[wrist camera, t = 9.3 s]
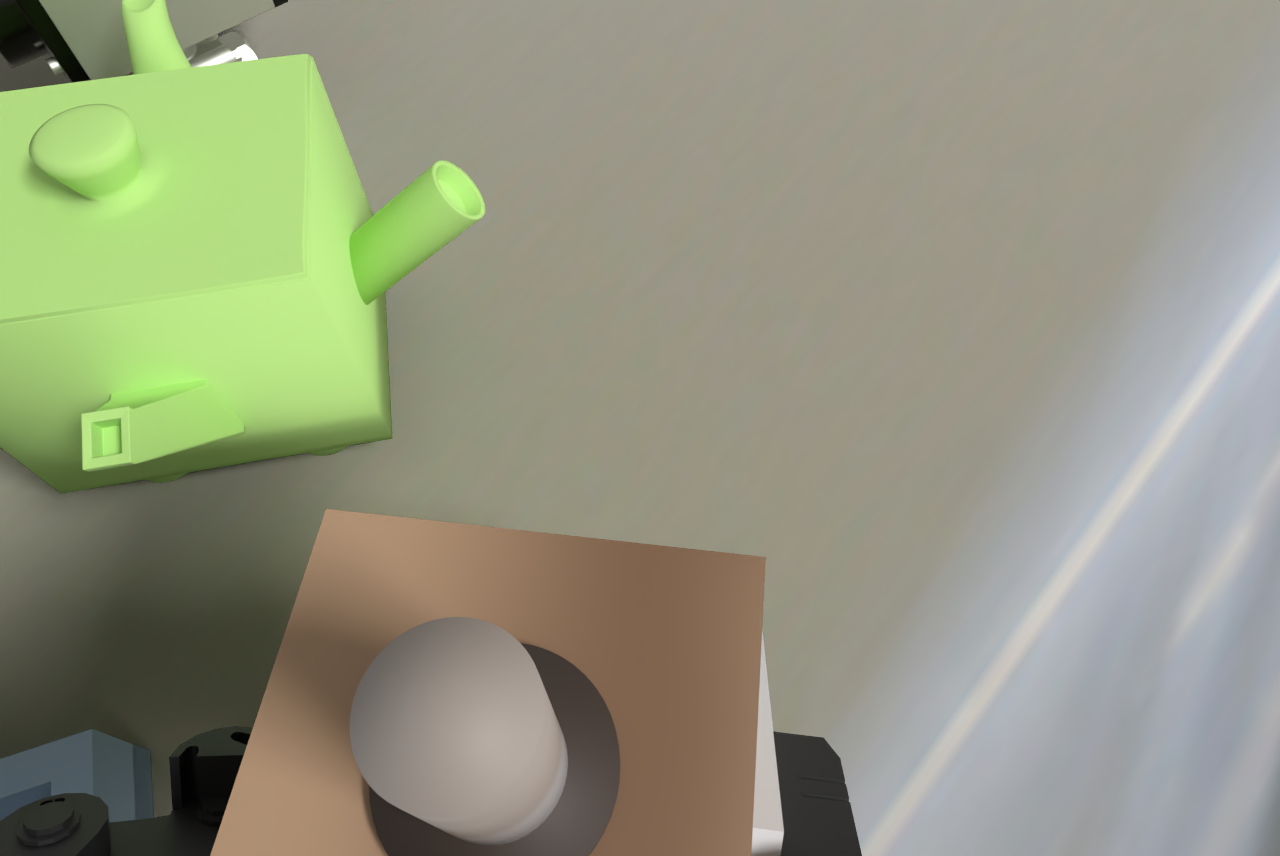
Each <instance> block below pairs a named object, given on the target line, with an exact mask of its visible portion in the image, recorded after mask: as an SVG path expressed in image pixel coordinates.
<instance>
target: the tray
mask: <svg viewBox="0 0 1280 856" xmlns="http://www.w3.org/2000/svg"><path fill="white" fill-rule="evenodd" d="M63 793H87V794H90V795H93V796H97V797H100V798H101V799H102V800H103V801H104V802H105V804H106V805H107V806H108V811H109V822H120V821H129V820H139V819H149V818H154V817H153V797H152V777H151V758H150V750H147V749H144V748H142V747H139V746H137V745H134V744H131V743H129V742H126V741H123V740H121V739H118V738H115V737H113V736H110V735H107V734H105V733H102V732H99V731H97V730H94V729H90V730H87V731H84V732H80V733H77V734H74V735H71V736H68V737H65V738H62V739H59V740H56V741H53V742H50V743H47V744H44V745H41V746H38V747H35V748H32V749H29V750H26V751H23V752H20V753H17V754H14V755H10V756H7V757H4V758H1V759H0V821H1V820H3V819H4V818H6V817H7V816H8V815H10V814H11V813H13V812H14V811H16V810H17V809H19V808H20V807H23V806H25V805H27V804H30V803H32V802H34V801H37V800H39V799H42V798H45V797H50V796H54V795H59V794H63Z"/></svg>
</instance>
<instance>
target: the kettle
mask: <svg viewBox="0 0 1280 856" xmlns="http://www.w3.org/2000/svg"><path fill="white" fill-rule="evenodd" d="M121 12H122V18H123V24H124V30H125V35H126V41H127V46H128V51H129V56H130V60H131V65H132V70H133V75H127V76H119V77H112V78H104V79H96V80H88V81H81V82H73V83H65V84H58V85H50V86H42V87H35V88H27V89H20V90H12V91H4V92H0V448H2V449H3V450H4V451H6V452H7V453H8V454H10V455H11V456H12V457H14V458H15V459H16V460H18V461H19V462H20V463H22V464H23V465H24V466H25V467H27V468H28V469H29V470H31V471H32V472H33V473H35V474H36V475H37V476H39V477H40V478H41V479H43V480H44V481H45V482H47V483H48V484H49V485H51V486H52V487H53V488H55V489H56V490H57V491H59V492H60V493H67V492H73V491H79V490H86V489H92V488H98V487H104V486H110V485H116V484H122V483H128V482H134V481H140V480H148V481H152V482H158V483H162V482H169V481H173V480H175V479H178V478H180V477H181V476H183V475H185V474H186V473H189V472H195V471H201V470H207V469H213V468H219V467H225V466H231V465H237V464H243V463H249V462H255V461H261V460H267V459H273V458H279V457H285V456H291V455H297V454H303V453H310V454H313V455H320V456H324V455H331V454H334V453H337V452H339V451H341V450H343V449H344V448H346V447H347V446H351V445H357V444H363V443H369V442H374V441H380V440H386V439H392V421H391V400H390V380H389V361H388V337H387V317H386V297H385V291H386V290H388V289H389V288H390V287H392V286H393V285H394V284H395V283H397V282H398V281H399V280H401V279H402V278H403V277H405V276H406V275H407V274H408V273H410V272H411V271H412V270H414V269H415V268H416V267H418V266H419V265H420V264H421V263H423V262H424V261H425V260H427V259H428V258H429V257H431V256H432V255H433V254H434V253H436V252H437V251H438V250H440V249H441V248H442V247H444V246H445V245H446V244H448V243H449V242H450V241H452V240H453V239H454V238H455V237H457V236H458V235H459V234H461V233H462V232H463V231H465V230H466V229H467V228H469V227H470V226H471V225H473V224H474V223H475V222H476V221H478V220H479V219H480V218H482V217H483V215H484V214H485V203H484V200H483V197H482V195H481V193H480V191H479V189H478V188H477V186H476V185H475V183H474V182H473V181H472V179H471V178H470V177H469V176H468V175H467V174H466V173H465V172H464V171H463V170H461V169H460V168H459V167H458V166H456V165H454V164H453V163H450V162H448V161H444V160H440V161H437V162H436V163H435V164H434V165H432V166H431V167H430V168H429V169H428V170H427V171H425V172H424V173H423V174H422V175H421V176H419V177H418V178H417V179H416V180H415V181H414V182H412V183H411V184H410V185H409V186H408V187H406V188H405V189H404V190H403V191H402V192H401V193H399V194H398V195H397V196H396V197H395V198H394V199H392V200H391V201H390V202H389V203H388V204H386V205H385V206H384V207H383V208H382V209H381V210H379V211H378V212H377V213H376V214H375V215H373V213H372V210H371V208H370V205H369V203H368V200H367V197H366V195H365V192H364V190H363V187H362V184H361V182H360V179H359V177H358V174H357V171H356V169H355V166H354V164H353V161H352V158H351V156H350V153H349V151H348V148H347V145H346V143H345V140H344V138H343V135H342V132H341V130H340V127H339V125H338V122H337V119H336V117H335V114H334V112H333V109H332V106H331V104H330V101H329V99H328V96H327V93H326V91H325V88H324V86H323V83H322V80H321V78H320V75H319V73H318V70H317V67H316V65H315V62H314V60H313V57H312V56H310V55H309V54H301V55H291V56H282V57H273V58H265V59H256V60H248V61H240V62H232V63H224V64H215V65H207V66H199V67H191V65H190V63H189V62H188V60H187V58H186V57H185V55H184V53H183V51H182V49H181V47H180V45H179V42H178V40H177V38H176V36H175V33H174V30H173V28H172V25H171V22H170V19H169V16H168V11H167V7H166V2H165V0H121Z"/></svg>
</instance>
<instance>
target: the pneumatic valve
mask: <svg viewBox="0 0 1280 856" xmlns="http://www.w3.org/2000/svg"><path fill="white" fill-rule="evenodd" d="M165 2H166V7H167V11H168V16H169V19H170V22H171V25H172V28H173V30H174V33H175V36H176V38H177V40H178V42H179V45H180V47H181V49H182V51H183V53H184V55H185V57H186V58H187V60H188V62H189V63H190V65H191V67H199V66H207V65H215V64H224V63H232V62H240V61H248V60H256V59H258V58H257V56H256V55H255V53H254V52H253V50H252V48H251V47H250V46H249V44H248V43H247V41H246V40H245V39H244V38H243V37H242V36H241V35H240V34H239V33H236V32H233V31H231V32H229V33H227V34H224V35H222V36H220V37H218V33H220V32H222V31H224V30H227V29H229V28H231V27H233V26H235V25H238V24H240V23H242V22H244V21H246V20H249V19H251V18H253V17H255V16H257V15H260V14H262V13H264V12H266V11H269V10H271V9H273V8H275V7H277V6H280V5H282V4H284V3H286V2H288V0H165ZM47 53H48V55H49V56H50V57H51V58H49V59H47V60H45V61H46V63H47V65H48V66H49V68H50V69H51V70H52V72H53V73H54V74H55V75H58V74H60V73H62V72H63V73H64V75H65V76H66V77H67V78H68V80H69V81H70V82H71V83H73V82H81V81H88V80H96V79H104V78H112V77H119V76H125V75H127V74H129V73H131V72H133V70H132V65H131V60H130V56H129V51H128V46H127V41H126V35H125V30H124V24H123V18H122V12H121V0H0V55H1V56H2V57H3V59H4V60H5V61H6V63H7V64H8V65H9V66H10V67H11V68H15V67H17V66H19V65H22V64H24V63H26V62H29V61H31V60H33V59H36V58H38V57H40V56H43V55H45V54H47Z"/></svg>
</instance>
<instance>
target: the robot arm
mask: <svg viewBox="0 0 1280 856" xmlns="http://www.w3.org/2000/svg"><path fill="white" fill-rule="evenodd" d="M252 729H253V728H247V727H228V728H220V729H214V730H212V731H209V732H206V733H203V734H200V735H197V736H195V737H193V738H191V739H190V740H188V741H186V742H185V743H183V744H181V745H180V746H179V747H178V748H177V749H176V750H175V751H174V753H173V754H172V755H171V756H170V757H169V761H170V775H171V790H172V805H173V810H172V812H171V814H170V815H168V816H162V817H156V818H149V819H139V820H129V821H120V822H109V811H108V806H107V805H106V804H105V802H104V801H103V800H102V799H101V798H100V797H97V796H93V795H90V794H87V793H63V794H59V795H54V796H50V797H45V798H42V799H39V800H37V801H34V802H32V803H30V804H27V805H25V806H23V807H20V808H19V809H17V810H16V811H14V812H13V813H11V814H10V815H8V816H7V817H6V818H4V819H3V820H1V821H0V856H210V855H211V852H212V849H213V846H214V843H215V840H216V837H217V834H218V831H219V828H220V825H221V822H222V819H223V816H224V813H225V810H226V807H227V804H228V801H229V798H230V795H231V792H232V789H233V786H234V783H235V780H236V777H237V774H238V771H239V768H240V765H241V762H242V759H243V756H244V753H245V750H246V747H247V744H248V741H249V738H250V735H251V732H252ZM751 856H862V854H861V850H860V845H859V841H858V836H857V832H856V827H855V823H854V819H853V814H852V810H851V805H850V802H849V796H848V792H847V787H846V784H845V778H844V774H843V769H842V765H841V760H840V758H839V756H838V755H837V754H836V753H835V751H834V750H833V749H832V748H831V747H830V745H829V744H828V743H827V742H826V740H825V739H824V738H821V737H813V736H805V735H797V734H788V733H780V732H773V725H772V716H771V707H770V697H769V688H768V679H767V670H766V660H765V651H764V642H763V633H762V644H761V665H760V685H759V706H758V727H757V748H756V769H755V790H754V811H753V832H752V853H751Z"/></svg>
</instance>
